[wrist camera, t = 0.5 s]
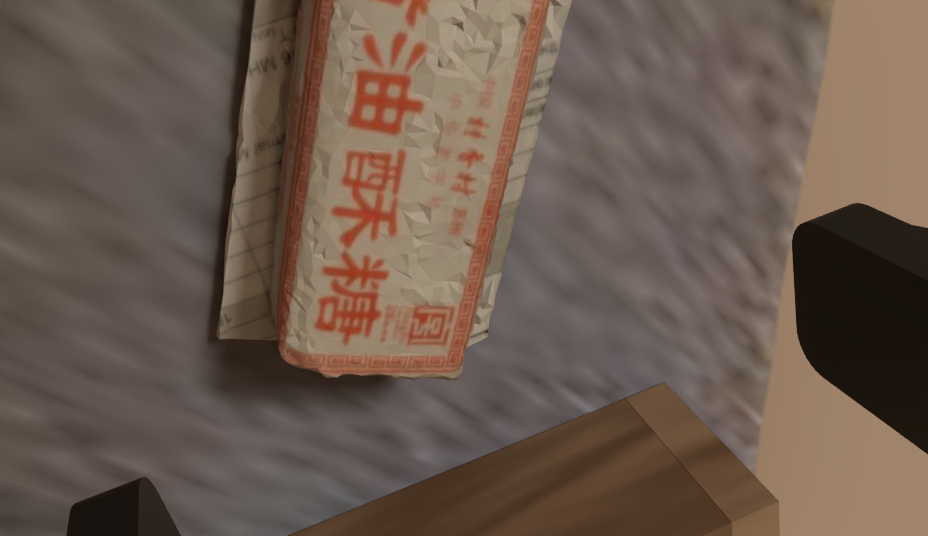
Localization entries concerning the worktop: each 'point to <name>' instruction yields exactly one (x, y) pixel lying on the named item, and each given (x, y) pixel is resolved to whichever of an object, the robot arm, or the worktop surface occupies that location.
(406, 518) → the walnut rack
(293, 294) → the packaged product
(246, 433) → the worktop surface
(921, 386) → the robot arm
